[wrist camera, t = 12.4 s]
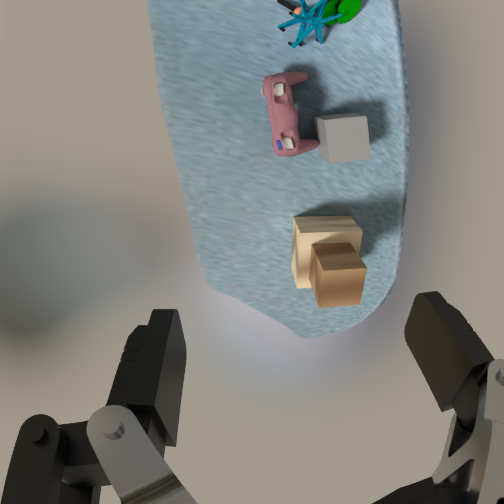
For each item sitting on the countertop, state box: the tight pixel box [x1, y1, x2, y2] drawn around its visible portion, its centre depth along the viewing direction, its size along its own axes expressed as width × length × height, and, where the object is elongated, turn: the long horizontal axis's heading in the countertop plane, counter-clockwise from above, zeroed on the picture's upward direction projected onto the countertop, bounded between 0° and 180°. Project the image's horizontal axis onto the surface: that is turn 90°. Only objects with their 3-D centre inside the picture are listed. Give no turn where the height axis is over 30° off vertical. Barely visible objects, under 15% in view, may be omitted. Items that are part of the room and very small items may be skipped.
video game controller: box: [261, 72, 319, 156], centre depth 32 cm, size 10×5×7 cm, turn 11°
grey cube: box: [313, 113, 371, 164], centre depth 33 cm, size 5×5×5 cm
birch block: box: [291, 216, 363, 288], centre depth 40 cm, size 8×8×5 cm
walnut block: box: [309, 243, 367, 308], centre depth 36 cm, size 5×5×6 cm
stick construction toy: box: [277, 0, 362, 48], centre depth 26 cm, size 12×7×8 cm
